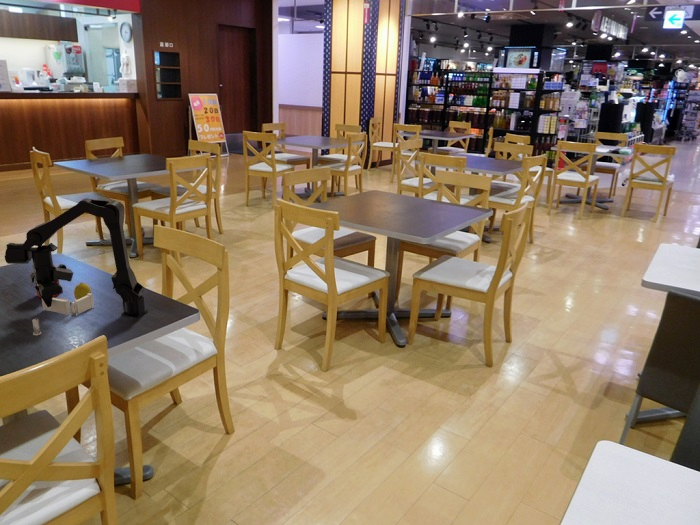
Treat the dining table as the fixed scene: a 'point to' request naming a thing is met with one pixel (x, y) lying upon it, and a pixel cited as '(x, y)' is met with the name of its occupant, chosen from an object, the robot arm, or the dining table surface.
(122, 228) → the robot arm
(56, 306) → the gate
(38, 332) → the post
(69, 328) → the dining table surface
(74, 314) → the hinge post
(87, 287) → the lemon
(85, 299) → the fence panel
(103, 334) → the dining table surface
